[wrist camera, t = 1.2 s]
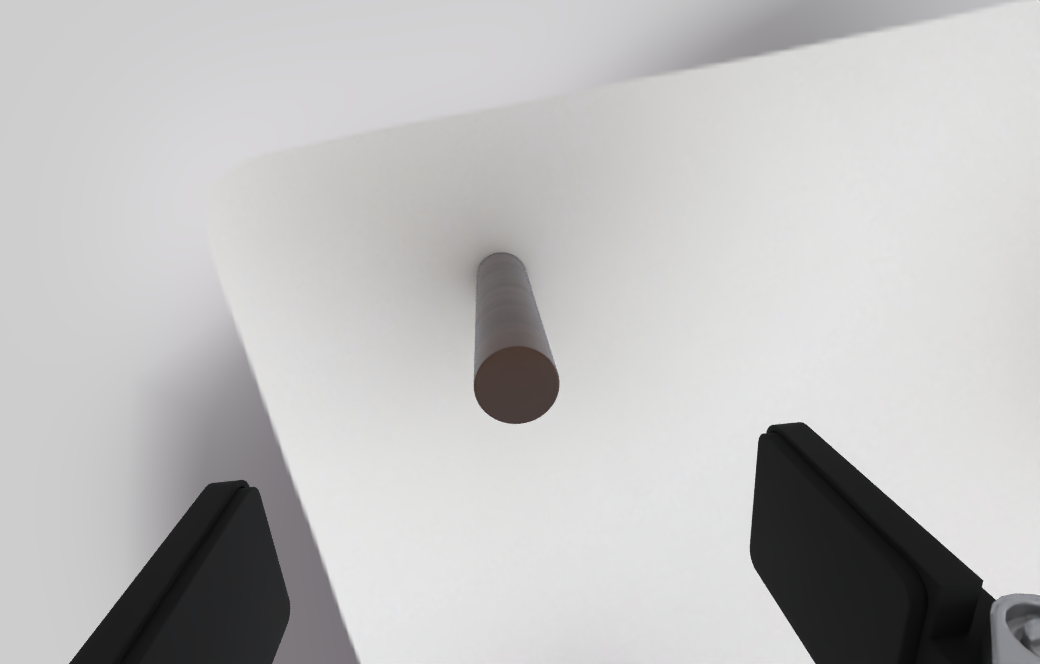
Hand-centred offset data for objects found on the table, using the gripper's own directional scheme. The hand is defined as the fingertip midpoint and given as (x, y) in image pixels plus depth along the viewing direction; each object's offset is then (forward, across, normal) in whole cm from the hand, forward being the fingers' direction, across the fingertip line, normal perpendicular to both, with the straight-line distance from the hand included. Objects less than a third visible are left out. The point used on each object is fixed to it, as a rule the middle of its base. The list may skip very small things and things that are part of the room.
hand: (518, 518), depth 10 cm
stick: (+18, 0, 0) cm, 18 cm away
